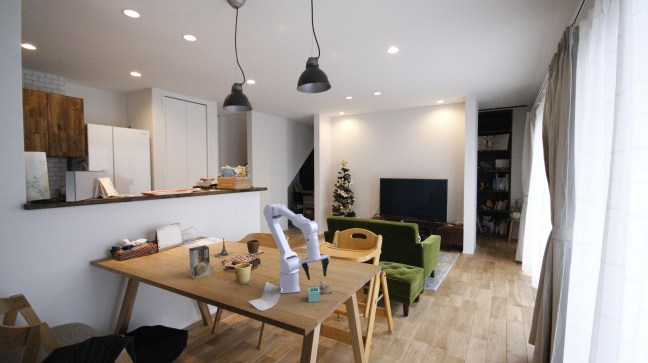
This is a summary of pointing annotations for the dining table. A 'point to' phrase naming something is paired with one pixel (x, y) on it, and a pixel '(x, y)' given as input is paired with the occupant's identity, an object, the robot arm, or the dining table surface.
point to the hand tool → (254, 261)
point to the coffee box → (199, 261)
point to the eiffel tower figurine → (222, 251)
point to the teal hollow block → (314, 294)
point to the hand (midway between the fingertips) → (316, 277)
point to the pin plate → (324, 288)
